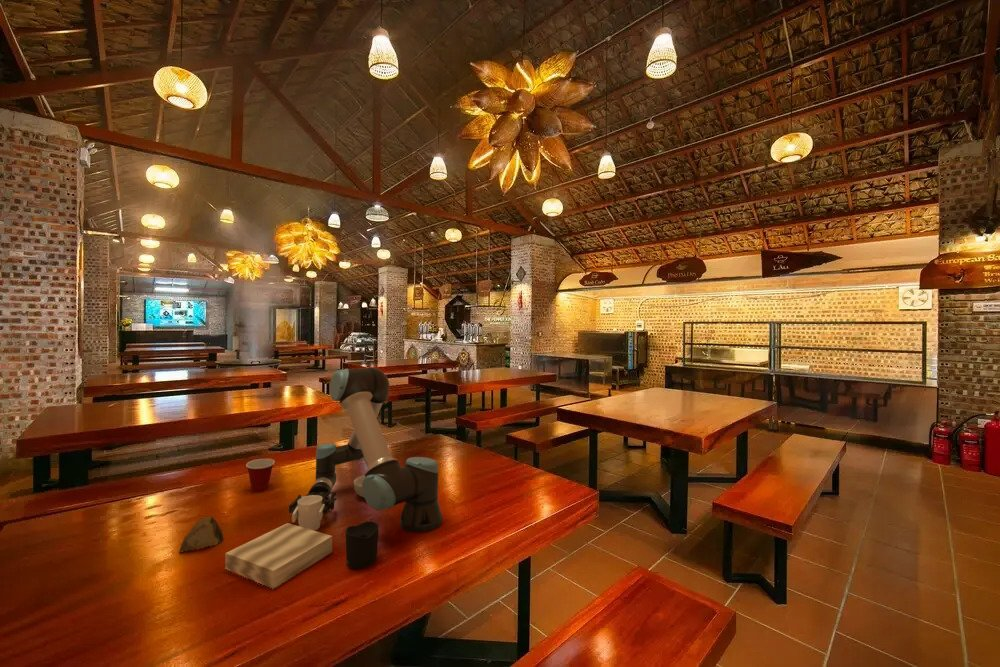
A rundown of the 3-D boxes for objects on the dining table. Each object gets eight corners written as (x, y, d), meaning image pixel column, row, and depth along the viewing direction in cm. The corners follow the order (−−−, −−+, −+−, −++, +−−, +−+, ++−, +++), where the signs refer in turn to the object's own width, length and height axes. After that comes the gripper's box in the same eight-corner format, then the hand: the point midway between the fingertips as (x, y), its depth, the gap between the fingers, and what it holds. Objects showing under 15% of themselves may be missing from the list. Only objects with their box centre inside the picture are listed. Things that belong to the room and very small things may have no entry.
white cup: (326, 525, 140) (327, 497, 140) (307, 535, 133) (308, 506, 133) (311, 520, 144) (311, 493, 144) (291, 530, 136) (292, 501, 136)
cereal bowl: (378, 484, 179) (379, 469, 179) (403, 493, 169) (403, 477, 169) (345, 496, 165) (345, 479, 165) (369, 507, 156) (369, 489, 156)
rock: (168, 551, 119) (203, 545, 119) (177, 520, 124) (211, 515, 125) (190, 556, 127) (223, 551, 128) (199, 527, 132) (230, 522, 133)
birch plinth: (332, 552, 124) (332, 536, 124) (273, 589, 105) (273, 570, 105) (287, 538, 131) (287, 523, 131) (225, 570, 113) (225, 553, 113)
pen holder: (352, 552, 124) (353, 520, 124) (382, 553, 123) (382, 521, 123) (339, 570, 114) (340, 535, 114) (371, 571, 114) (372, 536, 114)
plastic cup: (251, 497, 163) (251, 468, 163) (241, 490, 170) (241, 462, 170) (278, 489, 172) (279, 461, 172) (268, 483, 178) (268, 456, 178)
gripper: (347, 498, 158) (338, 525, 136) (292, 502, 153) (272, 531, 131) (348, 479, 158) (339, 503, 136) (292, 483, 153) (273, 508, 131)
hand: (306, 517), depth 134 cm, fingers closed on white cup, 8 cm apart
